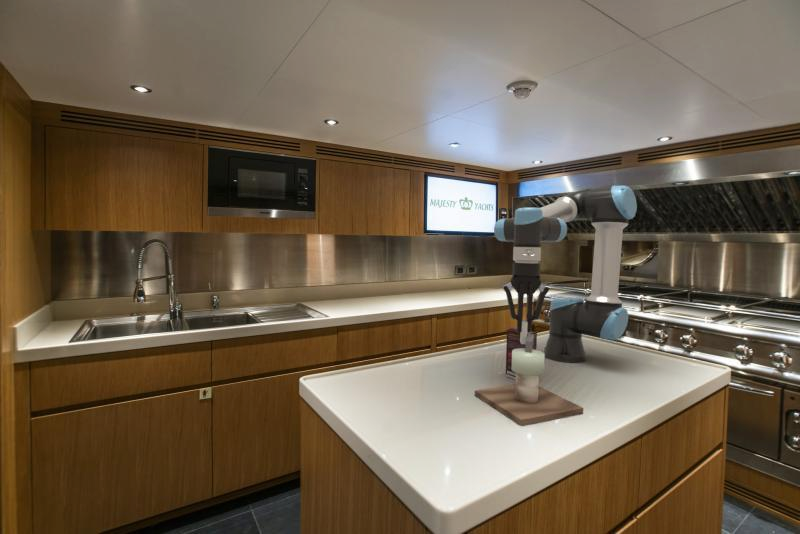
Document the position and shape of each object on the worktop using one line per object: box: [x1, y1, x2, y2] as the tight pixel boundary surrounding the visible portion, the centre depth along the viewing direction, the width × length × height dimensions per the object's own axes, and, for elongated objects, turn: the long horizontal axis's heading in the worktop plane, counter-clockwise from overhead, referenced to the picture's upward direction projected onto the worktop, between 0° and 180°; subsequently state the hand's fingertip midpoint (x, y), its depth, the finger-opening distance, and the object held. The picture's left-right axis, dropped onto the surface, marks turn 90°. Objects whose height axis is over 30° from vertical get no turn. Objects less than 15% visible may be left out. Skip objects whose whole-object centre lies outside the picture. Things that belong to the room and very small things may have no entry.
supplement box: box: [505, 327, 538, 381], centre depth 127 cm, size 9×5×16 cm, turn 35°
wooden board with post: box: [474, 373, 584, 427], centre depth 107 cm, size 20×20×9 cm
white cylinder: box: [511, 334, 546, 377], centre depth 109 cm, size 14×8×8 cm, turn 158°
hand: (523, 343), depth 114 cm, fingers closed
